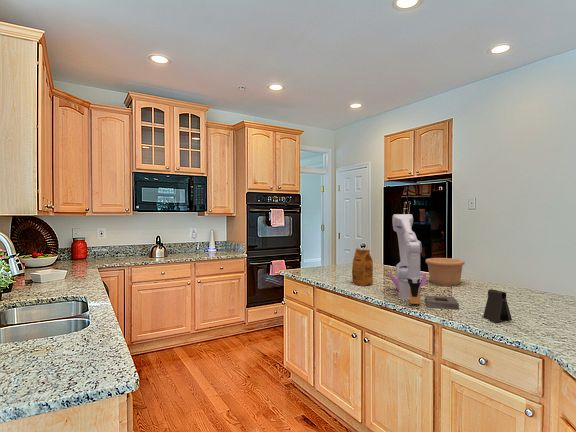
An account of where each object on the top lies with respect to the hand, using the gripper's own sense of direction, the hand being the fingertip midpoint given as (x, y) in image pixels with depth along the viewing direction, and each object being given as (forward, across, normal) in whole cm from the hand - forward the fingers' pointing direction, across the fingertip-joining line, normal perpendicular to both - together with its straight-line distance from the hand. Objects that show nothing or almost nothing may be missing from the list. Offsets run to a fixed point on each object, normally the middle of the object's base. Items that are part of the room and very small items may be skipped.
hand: (414, 295), depth 164 cm
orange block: (+3, 0, 0) cm, 3 cm away
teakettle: (+5, +34, +2) cm, 34 cm away
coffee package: (+5, +44, +28) cm, 52 cm away
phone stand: (+5, -15, -31) cm, 35 cm away
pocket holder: (+5, +2, -12) cm, 13 cm away
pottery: (+5, +57, -21) cm, 61 cm away
